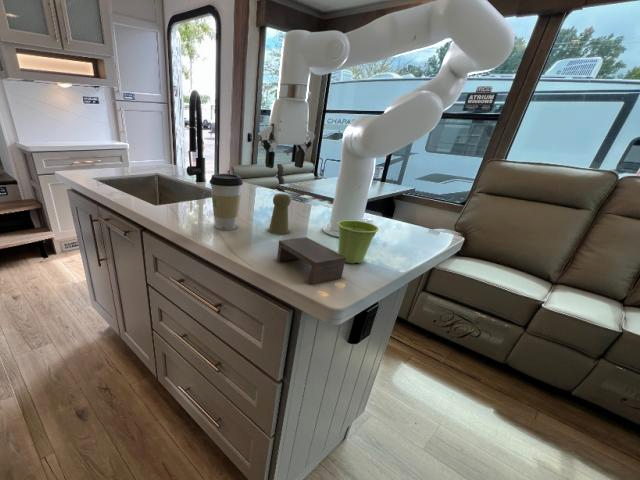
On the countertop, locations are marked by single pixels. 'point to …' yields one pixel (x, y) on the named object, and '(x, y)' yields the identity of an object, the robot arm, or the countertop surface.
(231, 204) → the coffee cup
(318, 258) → the shelf
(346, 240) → the plant pot
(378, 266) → the countertop surface
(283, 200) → the olive pawn figure
